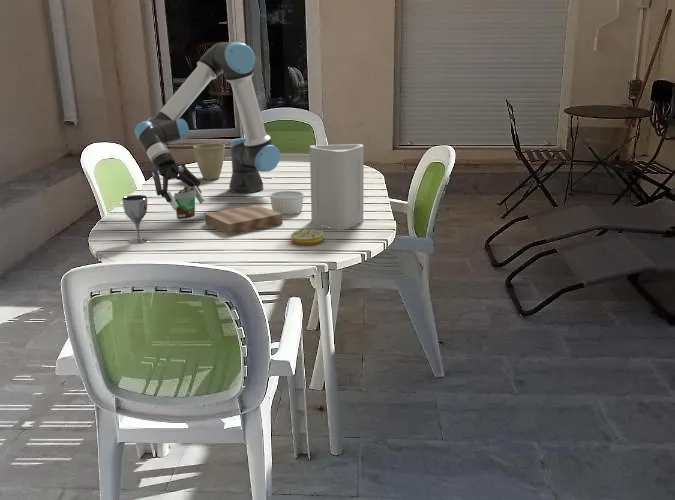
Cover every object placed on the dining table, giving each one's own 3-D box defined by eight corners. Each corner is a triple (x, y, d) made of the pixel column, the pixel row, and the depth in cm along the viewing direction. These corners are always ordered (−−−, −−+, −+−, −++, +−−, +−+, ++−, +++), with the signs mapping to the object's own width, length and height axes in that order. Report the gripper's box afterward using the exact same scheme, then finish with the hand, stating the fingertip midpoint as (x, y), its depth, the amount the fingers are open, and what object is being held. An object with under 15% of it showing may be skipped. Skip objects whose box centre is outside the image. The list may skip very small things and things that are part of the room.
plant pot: (233, 177, 329) (231, 144, 324) (212, 182, 317) (210, 149, 312) (210, 174, 336) (208, 142, 331) (189, 179, 324) (186, 146, 319)
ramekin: (289, 205, 274) (288, 188, 272) (311, 211, 265) (310, 194, 263) (263, 211, 266) (263, 194, 263) (285, 217, 257) (284, 199, 254)
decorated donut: (298, 236, 233) (298, 226, 232) (327, 239, 230) (327, 228, 229) (286, 245, 224) (286, 234, 223) (317, 247, 221) (316, 236, 220)
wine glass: (138, 245, 224) (133, 201, 220) (121, 241, 228) (116, 198, 224) (156, 239, 231) (151, 196, 226) (139, 236, 235) (135, 193, 230)
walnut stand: (257, 214, 261) (256, 204, 260) (282, 224, 247) (282, 213, 246) (205, 224, 248) (204, 213, 247) (229, 235, 235) (228, 224, 233)
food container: (192, 220, 245) (190, 194, 242) (175, 220, 246) (173, 193, 242) (202, 211, 257) (200, 185, 253) (186, 210, 257) (184, 185, 254)
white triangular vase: (314, 231, 239) (312, 152, 230) (311, 220, 253) (309, 145, 244) (367, 229, 241) (368, 150, 232) (361, 218, 255) (362, 144, 246)
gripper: (183, 159, 263) (211, 204, 258) (130, 169, 247) (158, 217, 242) (190, 147, 258) (218, 192, 253) (136, 156, 242) (165, 205, 236)
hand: (189, 204), depth 247 cm, fingers closed on food container, 11 cm apart
